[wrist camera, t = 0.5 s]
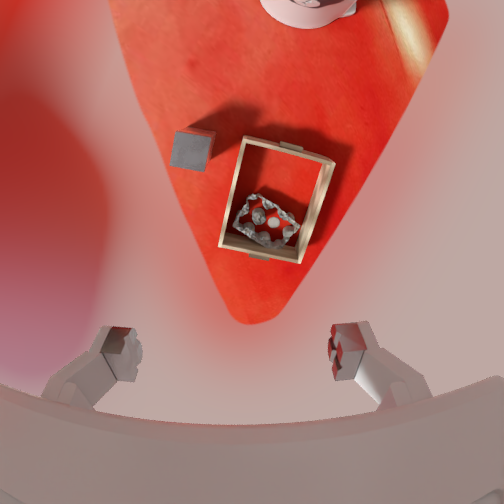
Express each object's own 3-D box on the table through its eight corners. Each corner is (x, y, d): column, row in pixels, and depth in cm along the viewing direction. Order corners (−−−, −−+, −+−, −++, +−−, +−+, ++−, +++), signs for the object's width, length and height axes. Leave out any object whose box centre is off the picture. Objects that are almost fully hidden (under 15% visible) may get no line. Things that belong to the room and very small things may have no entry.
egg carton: (300, 218, 55) (304, 227, 51) (276, 247, 58) (278, 258, 54) (254, 185, 51) (254, 193, 48) (230, 217, 54) (229, 227, 51)
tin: (187, 125, 46) (175, 131, 38) (217, 131, 46) (211, 137, 39) (181, 154, 48) (169, 165, 41) (210, 160, 49) (204, 172, 41)
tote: (244, 129, 46) (244, 132, 42) (329, 152, 48) (337, 158, 44) (219, 238, 56) (217, 251, 52) (295, 254, 58) (298, 267, 54)
